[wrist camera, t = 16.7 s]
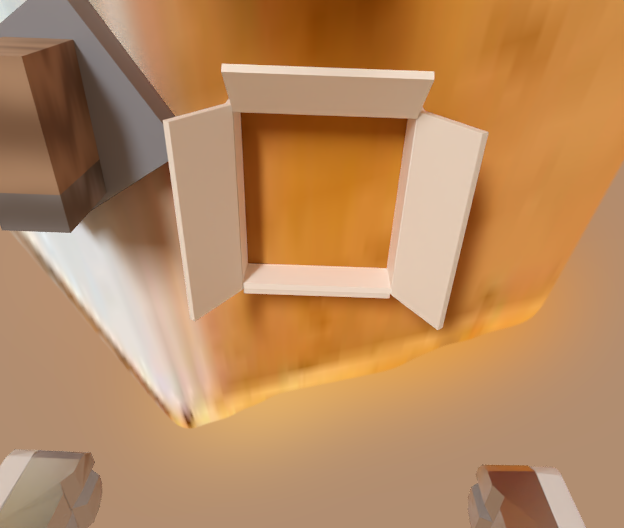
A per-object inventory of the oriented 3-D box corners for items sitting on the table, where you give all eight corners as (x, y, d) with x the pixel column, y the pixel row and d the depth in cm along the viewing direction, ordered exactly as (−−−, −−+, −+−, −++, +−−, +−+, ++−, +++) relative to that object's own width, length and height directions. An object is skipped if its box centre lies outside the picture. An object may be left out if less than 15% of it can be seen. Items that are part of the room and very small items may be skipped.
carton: (186, 45, 37) (153, 66, 30) (467, 55, 37) (503, 79, 30) (209, 271, 49) (189, 326, 41) (424, 279, 49) (442, 335, 41)
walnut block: (3, 36, 34) (-63, 53, 28) (73, 39, 34) (21, 56, 28) (48, 190, 41) (2, 230, 35) (106, 192, 41) (70, 232, 35)
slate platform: (70, -23, 35) (51, -21, 32) (192, 139, 41) (183, 151, 39) (-51, 81, 39) (-77, 89, 36) (77, 213, 45) (62, 228, 43)
